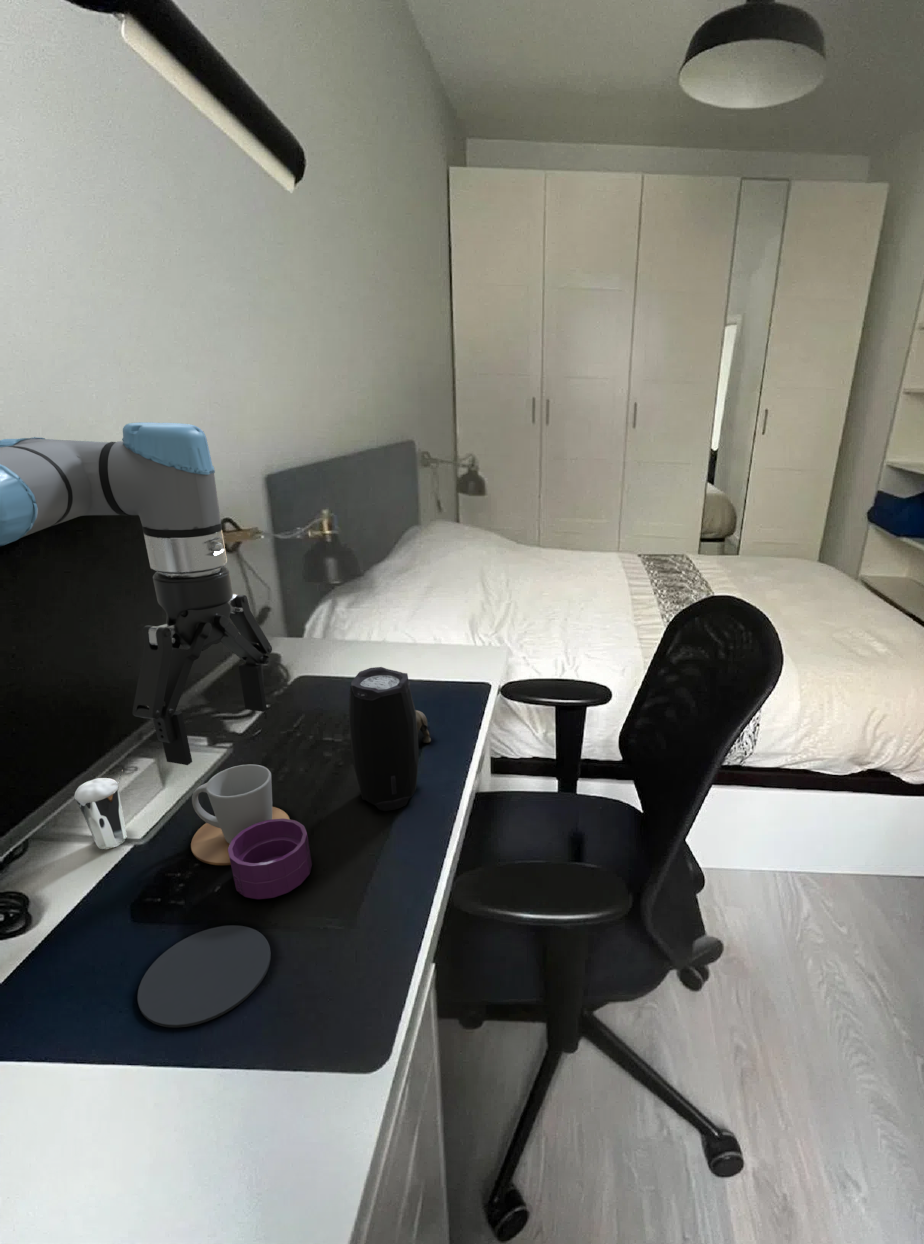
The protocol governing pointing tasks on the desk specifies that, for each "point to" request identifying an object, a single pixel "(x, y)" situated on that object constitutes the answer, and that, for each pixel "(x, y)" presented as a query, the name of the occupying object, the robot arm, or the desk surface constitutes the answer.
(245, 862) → the plum bowl
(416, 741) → the portable speaker
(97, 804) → the milkshake
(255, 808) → the cup
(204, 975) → the slate coaster
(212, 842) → the wooden coaster
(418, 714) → the rhino figurine
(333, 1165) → the desk surface
